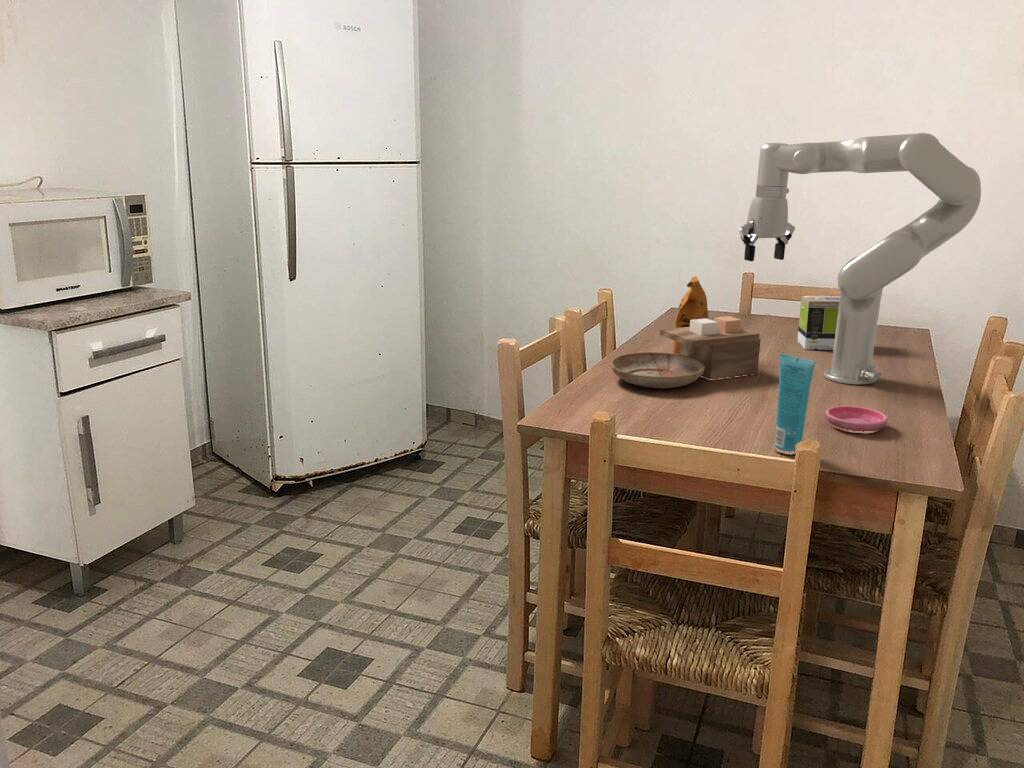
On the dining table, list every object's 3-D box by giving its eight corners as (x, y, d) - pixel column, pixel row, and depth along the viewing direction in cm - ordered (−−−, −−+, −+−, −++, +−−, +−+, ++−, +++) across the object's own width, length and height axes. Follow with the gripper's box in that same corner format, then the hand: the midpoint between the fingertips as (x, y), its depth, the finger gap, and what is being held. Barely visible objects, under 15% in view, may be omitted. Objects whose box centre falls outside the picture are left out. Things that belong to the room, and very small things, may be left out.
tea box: (847, 343, 255) (853, 295, 250) (856, 351, 245) (863, 301, 241) (796, 342, 256) (801, 294, 252) (803, 350, 246) (809, 300, 242)
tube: (810, 453, 165) (821, 358, 160) (799, 459, 162) (810, 363, 156) (774, 443, 170) (784, 351, 164) (763, 450, 166) (773, 356, 161)
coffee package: (667, 359, 234) (672, 281, 228) (675, 349, 245) (680, 274, 239) (703, 363, 230) (709, 283, 224) (710, 353, 242) (715, 276, 235)
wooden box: (757, 374, 220) (761, 333, 217) (689, 383, 211) (692, 341, 208) (723, 362, 232) (726, 323, 229) (657, 370, 223) (660, 329, 220)
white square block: (717, 333, 216) (717, 322, 215) (701, 335, 214) (701, 323, 213) (705, 329, 221) (706, 318, 220) (689, 331, 219) (690, 319, 218)
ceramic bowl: (594, 374, 219) (594, 355, 218) (672, 366, 227) (673, 348, 226) (637, 399, 198) (638, 379, 197) (722, 390, 206) (723, 370, 205)
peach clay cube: (740, 331, 219) (741, 319, 218) (724, 332, 217) (725, 321, 216) (728, 327, 224) (729, 316, 223) (712, 328, 222) (713, 317, 221)
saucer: (817, 430, 179) (819, 415, 178) (832, 414, 189) (833, 401, 188) (879, 441, 172) (881, 427, 172) (891, 425, 182) (893, 411, 181)
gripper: (787, 191, 222) (780, 256, 227) (734, 192, 215) (728, 259, 220) (807, 193, 215) (799, 260, 220) (753, 194, 209) (746, 263, 214)
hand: (764, 259), depth 220 cm, fingers open, 9 cm apart
